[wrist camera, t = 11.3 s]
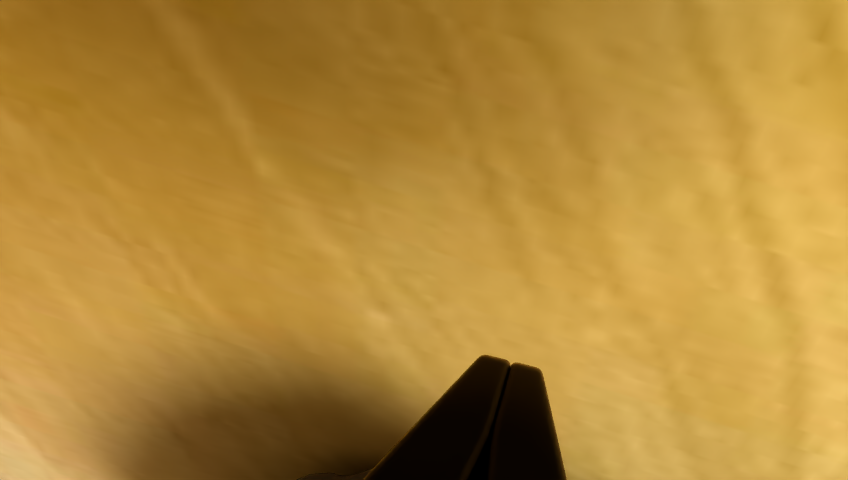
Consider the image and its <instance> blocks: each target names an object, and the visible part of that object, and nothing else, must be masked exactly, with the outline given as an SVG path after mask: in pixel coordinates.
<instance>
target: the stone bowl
mask: <svg viewBox="0 0 848 480" xmlns="http://www.w3.org/2000/svg"><path fill="white" fill-rule="evenodd" d="M371 470H372V469H370V470H368V471H365V472H362V473H359V474H355V475H351V476H340V475H335V474H334V473H321V474H310V475H308V476H305V477H302V478H300V479H297V480H363V479H364V477H365V476H366V475H367V474H368V473H369V472H370V471H371Z"/></svg>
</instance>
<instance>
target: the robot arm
mask: <svg viewBox="0 0 848 480" xmlns="http://www.w3.org/2000/svg"><path fill="white" fill-rule="evenodd" d="M363 480H567V479H566V474H565V470H564V465H563V461H562V457H561V452H560V448H559V443H558V439H557V435H556V430H555V426H554V421H553V417H552V413H551V408H550V404H549V399H548V395H547V391H546V386H545V382H544V377H543V374H542V372H541V370H540V369H539V368H537V367H533V366H529V365H525V364H521V363H513V364H512V365H511V367H510V363H509V362H508V361H507V360H505V359H501V358H497V357H493V356H489V355H482V356H480V357H479V358H478V359H477V360H476V361H475V362H474V363H473V364H472V365H471V366H470V367H469V368H468V369H467V370H466V371H465V372H464V373H463V374H462V375H461V377H460V378H459V379H458V380H457V381H456V382H455V383H454V384H453V385H452V386H451V387H450V388H449V389H448V390H447V391H446V392H445V393H444V394H443V395H442V397H441V398H440V399H439V400H438V401H437V402H436V403H435V404H434V405H433V406H432V407H431V408H430V409H429V410H428V411H427V412H426V413H425V414H424V415H423V416H422V418H421V419H420V420H419V421H418V422H417V423H416V424H415V425H414V426H413V427H412V428H411V429H410V430H409V431H408V432H407V433H406V434H405V435H404V436H403V438H402V439H401V440H400V441H399V442H398V443H397V444H396V445H395V446H394V447H393V448H392V449H391V450H390V451H389V452H388V453H387V454H386V455H385V456H384V457H383V459H382V460H381V461H380V462H379V463H378V464H377V465H376V466H375V467H374V468H373V469H372V470H371V471H370V472H369V473H368V474H367V475H366V476H365V477H364V479H363Z"/></svg>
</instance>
